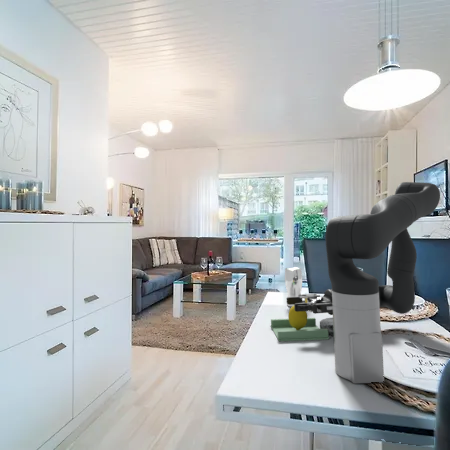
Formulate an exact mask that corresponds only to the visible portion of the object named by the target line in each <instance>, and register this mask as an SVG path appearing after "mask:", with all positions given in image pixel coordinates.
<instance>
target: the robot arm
mask: <svg viewBox="0 0 450 450" xmlns="http://www.w3.org/2000/svg"><path fill="white" fill-rule="evenodd" d="M440 200H441V192H440V189H439V187H438V186H437V185H436V184H434V183H431V182H418V181H417V182H413V181H403V182H401V183H399V184H398V185H397V187H396V189H395V192H394V194H392V195H388V196H386V197H385V198H382V199H381V200H379V201H377V202H376V203H375V204H374V205H373V207H372V208H371V210H370V213H369V214H354V215H342V216H341V215H340V216H339V215H338V216H334V217H332V218H330V220H329V221H328V222H327V225H326V228H325V249H326V259H327V269H328V270H327V271H328V276H329V281H330V284H331V289H326V290H325V291H324V294H323V296H321V295H320V294H316V293H308V294H306V293H305V294H302V293H301V294H299V295H298V297H288V296H287V297H286V305H287V304H288V305H292V304H294V309H295V311H296V312H299V311H306V312H309V313H313V314H314V315H315V314H328V315H330V316H332V318H333V331H334V337H333V350H334V369H335V373H336V374H337V375H338V376H340V377H342V378H343V379H345V380H348V381H350V382H351V383H352V384H372V383H371V382H379V383H384V382H385V371H384V369H385V368H384V353H383V352H384V349H383V335H382V331H381V330H382V328H381V309H380V308H387V309H389V310H391V311H393V312H394V313H397V314H399V315H403V314H407V313H409V312H410V311H411V310H412V309H413V307H414V305H415V300H416V292H415V281H414V274H415V269H416V263H417V259H418V258H417V256H418V255H417V249H416V246H415V243H414V242H413V239H412V238H411V235H410V232H409V231H408V228H409V227H410V226H411V225H413V224H414V223H415V222H416V221H418V220H419V219H421V218H423V217H425V216H428V215H430V214H432V213H433V212H434V211H435V210H436V208H437V207H438V206H439V203H440ZM390 244H391V246H390V247H391V249H390V255H389V258H388V265H387V272H386V273H387V276H388V277H389V278H390V279H391V281H392V285H389V284H386V285H385V284H384V285H380V284H379V280H378V278H376V277H375V276H374V275H372V274H369V273H367V272H365V271H363V270H361V269H360V268H359V267H358V266H357V265H355V263H354V260H355V259H356V260H371V259H374V258H377V257H379V256H380V255H381V254H382V253H384V251H385V250H386V249H387V248H388V246H389V245H390ZM353 259H354V260H353ZM303 299H304V300H303ZM383 375H384V377H383ZM383 381H384V382H383Z"/></svg>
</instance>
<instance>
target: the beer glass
mask: <svg viewBox="0 0 450 450" xmlns="http://www.w3.org/2000/svg"><path fill="white" fill-rule="evenodd" d="M284 284H285V288H286V293H287V297H298V295H299V294H301V295H302V288H303V273H302V268H301V267H286V268H284ZM286 305H287V307H289V306H290V308H291V307H292V306H294V304H292V305H288V304H287V303H286Z"/></svg>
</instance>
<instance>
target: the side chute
mask: <svg viewBox="0 0 450 450" xmlns="http://www.w3.org/2000/svg"><path fill="white" fill-rule="evenodd" d="M270 327H271V329H272V331H273V332H274V334H275V337H276V338H277V341H278V342H291V341H292V342H293V341H294V342H296V341H298V342H299V341H319V340H321V341H322V340H323V341H324V340H330V337H329V335H328V329H320V327H318V325H317V321H316V317H307V324H306V325H305V327H304V328H302V329H300V330H296V329H295V328H293V327H292V326H291V324H290V322H289V318H272V319H270Z"/></svg>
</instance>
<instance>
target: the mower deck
mask: <svg viewBox="0 0 450 450" xmlns="http://www.w3.org/2000/svg"><path fill="white" fill-rule="evenodd" d="M319 329H328V337H329V336H330V337H333V338H334V331H333V317H326V318H323V319H321V320H320V321H319Z"/></svg>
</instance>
